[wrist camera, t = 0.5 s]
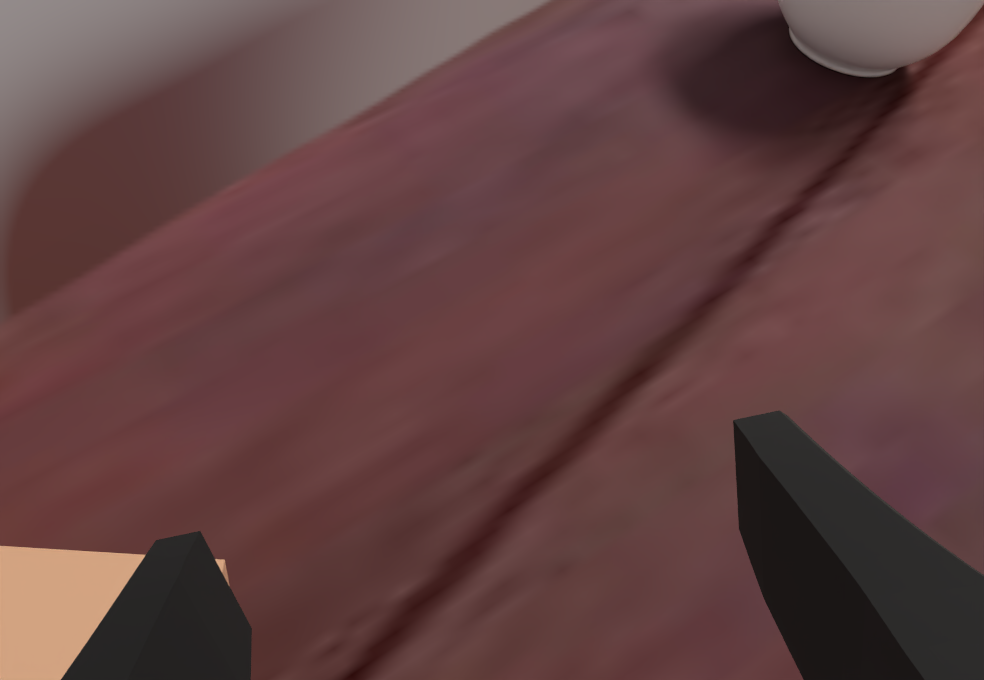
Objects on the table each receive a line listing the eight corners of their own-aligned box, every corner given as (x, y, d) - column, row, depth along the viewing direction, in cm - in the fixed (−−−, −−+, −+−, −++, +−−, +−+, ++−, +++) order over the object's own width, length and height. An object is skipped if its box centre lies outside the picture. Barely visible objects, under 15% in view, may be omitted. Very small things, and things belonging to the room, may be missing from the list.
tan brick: (208, 774, 27) (191, 723, 23) (-27, 765, 26) (-80, 711, 23) (236, 624, 30) (224, 559, 26) (24, 613, 29) (-15, 544, 26)
